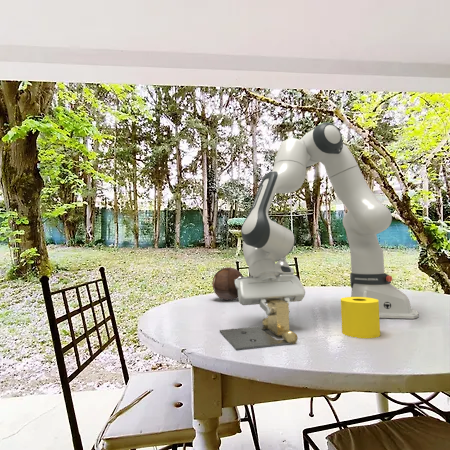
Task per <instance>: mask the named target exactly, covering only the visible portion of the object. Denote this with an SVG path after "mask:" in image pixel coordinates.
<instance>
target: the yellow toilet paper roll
mask: <svg viewBox="0 0 450 450" xmlns="http://www.w3.org/2000/svg"><path fill="white" fill-rule="evenodd" d="M340 311H341V312H340V314H341V315H340V316H341V332H342V334H343V335H344V334H345V336H346V335H347V337H350V336H351V337H350V338H355V337H357V338H356V339H375V338H376V337H377V338H379V337H381V322H380V318H379V300H377V299H374V298H367V297H351V296H347V297H341V298H340Z"/></svg>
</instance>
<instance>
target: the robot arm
mask: <svg viewBox="0 0 450 450" xmlns="http://www.w3.org/2000/svg"><path fill="white" fill-rule="evenodd" d="M342 135H343V134H342V133H341V130H340V129H339V128H338V126H336V125H335V124H334V123H331V122H323V123H321V124H318V125H317V126H315V127H314V128H313V129H311V130H309V131H307V132H306V133H305V134H304V135H303V136H302V137H301V138H300V139H298V138H293V137H292V138H291V137H290V138H287V139H285V140H283V141H282V143H280V146H279V148H278V150H277V153H276V156H275V159H274V163H273V168H272V170H271V171H269V172H268V173H266V174H265V175H264V177H263V178H262V179H261V181H260V185H258V189H257V191H256V194H255V197H254V199H253V202H252V204H251V207H250V210H249V212H248V214H247V215H246V218H245V219H244V220H243V223H242V225H241V229H240V233H241V237H242V240H243V242H242V251H243V253H242V254H243V257H244V260H245V263H246V265H247V266H248V272H249V276H248V275H247V276H243V277H238V278H237V279H235V281H234V283H235V287H236V288H237V289H238V302H239V304H240V305H241V306H253V305H254V306H255V305H259V307H260V308H261V309H262V310H263V311H264V312H265V314H266V316H267V317H268V316H272V314H273V310H272V307H268V306H267V300H272V299H279V300H282V301H285V302H287V303H288V306H290V303H292V302H293V303H294V302H302V301H303V299H304V298H305V295H306V290H305V287H304V286H303V284H302V282H301V280H300V279H299V277H298V276H297V275H296V274H295V270H294V268H293V267H290V266H289V267H286V266H282V265H279V264H276V263H277V262H278V261H279V260H281V259H282V258H284V257H285V256H288V255H289V254H290V253H291V252H292V251H293V249H294V246H295V243H296V238H295V234H294V233H293V231H292V230H291V229H289V228H287V227H286V226H284V225H281V224H279V223H277V222H276V221H273V220H272V219H271V218H270V216H269V212H270V208H271V206H272V203H273V200H274V197H275V195H276V194H283V195H284V194H290V193H294V192H297V191H298V190H299V189H301V187H302V186H303V184H304V182H305V178H306V172H307V169H309V168H312V166H314V165H316V164H319V163H321V164H322V165H323V167H324V169H325V171H326V174H327V176H328V178H329V181H330V183H331V186H332V188H333V190H334V193H335V195H336V197H337V199H338V200H340V201H341V202H342V204H343V205H344V206H345V208H346V209H347V212H346V213H345V214H344V215H343V218H342V226H343V228H344V229H345V232H346V238H347V242H348V247H349V252H350V267H351V268H350V269H351V273H350V276H349V280H350V281H349V283H350V288H351V294H350V295H351V296H350V297H367V298H374V299H377V300H379V318H381V319H405V320H406V319H407V320H409V319H412V320H414V319H417V318H419V312H418V311H417V310H416V309H414V308H412V305H411V302H410V299H409V297H408V296H407V294H405V293H404V292H402V291H401V290H400V289H399V288H397V287H396V286H394V285H393V284H392V281H393V276H391V275H390V274H387V273H386V272H385V264H384V263H385V260H384V256H385V255H384V250H383V248H382V247H381V245H380V243H379V240H378V236H377V234H381V233H382V232H383V231H386V230H387V229H388V228H389V227H390V226H391V223H392V220H393V216H392V212H391V210H390V208H388V207H387V206H386V205H384V204H383V203H382V202H381V201H380V200H379V199H378V197H377V196H376V195H375V193H374V192H373V191H372V189H371V188H370V187H369V184H368V183H367V181H366V179H365V177H364V175H363V173H362V170H361V169H360V167H359V164H358V162H357V160H356V158H355V157H354V155H353V153H352V152H351V150H350V149H349V147H348V146H347V145H346V144H345V143H344V142H343V136H342ZM290 312H291V309H290V308H289V314H290Z"/></svg>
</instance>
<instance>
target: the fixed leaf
mask: <svg viewBox="0 0 450 450" xmlns="http://www.w3.org/2000/svg"><path fill="white" fill-rule="evenodd" d="M261 324H262V326H251V327H239V328H238V327H237V328H229V329H228V328H227V329H219V333H220V334H221V335H222V336H223V337H224V339H226V340H227V342H229V344H230V345H231V347H233V348H234V349H235V351H241V350H243V351H244V350H250V349H253V350H254V349H262V348H270V347H281V346H289V345H294V344H296V343H297V342H298V339H299V338H298V335H297V333H296V332H294V331H293V330H290V329H289V330H285V331H284V332H283V333H282V335H281V337H282V339H276V338H275V337H273V336H271V335H270V334H269V333H267V332H266V331H270V330H269V329H268V317H264V318H263V319H262V321H261Z"/></svg>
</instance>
